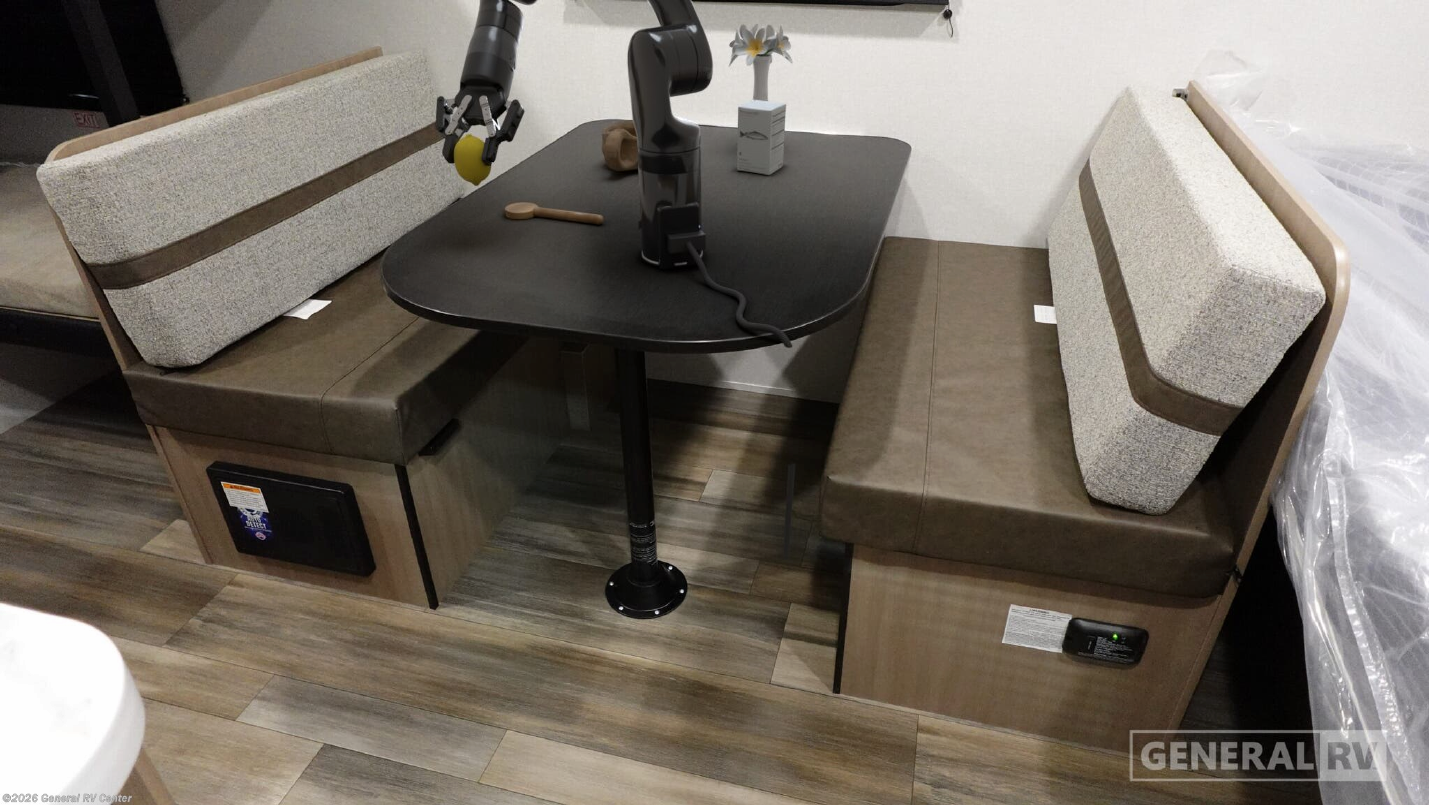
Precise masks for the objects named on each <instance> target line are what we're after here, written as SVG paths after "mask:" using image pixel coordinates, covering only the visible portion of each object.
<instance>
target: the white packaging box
mask: <svg viewBox="0 0 1429 805" xmlns="http://www.w3.org/2000/svg"><path fill="white" fill-rule="evenodd" d="M786 112H787V103H786V102H785V103H784V102H776V101H770V100H768V101H761V100H753V99H751V100H749V101H747V102H744V103H742V104H740V105H739V106H737V143H736V146H737V148H736V171H740V172H741V171H742V172H749V173H754V174H761V175H766V176H770V175H772V174H773V173H775V172H777V171H778V170H780V169H781V168H782V167H783V166H784V155H785V154H784V152H785V134H786V133H785V132H786Z"/></svg>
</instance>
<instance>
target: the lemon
mask: <svg viewBox="0 0 1429 805" xmlns="http://www.w3.org/2000/svg"><path fill="white" fill-rule="evenodd" d="M484 144H485V141H483V140H482V139H481V138H479V137H478V136H475V135H472V133H466V135H465V136H462V137H461V138H460V140H459V141H458V142H457V144H456V146H455V149H454V166H455V170H456V172H457V174H458V175H459V176H460V178H461V179H463V180H464V181H466V182H468V183H471V184H472V185H473V186H474V187H478V186H480V184H481V183H482V182H483V181H486V179H487V178H488V177H489V175H490V174H491V171H492V165H491V166H486V165H485V164H484V163H483V162H482V159H481V157H482V152H483V148H484Z"/></svg>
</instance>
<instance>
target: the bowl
mask: <svg viewBox="0 0 1429 805" xmlns="http://www.w3.org/2000/svg"><path fill="white" fill-rule="evenodd" d="M601 138H602V139H601V152H602V155H603V157H604V161H605V164H606V165H607V167H608V168H609V169H611V170H613V171H616V172H626V171H633V170H638V149H637V135H636V131H635V128H634V124H633V119H628V120H623V121H620V122H619V121H618V122H615V123H613V124H610V125H607V126H605V127H604V128H603V129H602V131H601Z"/></svg>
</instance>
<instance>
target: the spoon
mask: <svg viewBox="0 0 1429 805" xmlns="http://www.w3.org/2000/svg"><path fill="white" fill-rule="evenodd" d="M504 212H505V216H506V217H507V218H509V219H512V220H527V219H531V218H532V219H533V218H535V217H538V218H546V219H554V220H562V221H570V222H577V223H584V224H593V225H601V224H603V223H604V217H603V215H602V214H595V213H588V212H582V211H581V212H580V211H573V210H564V209H556V208H548V207H541V206H538V205H537V204H536V203H533V202H515V203H511V204H508V205H506V207H504Z"/></svg>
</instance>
